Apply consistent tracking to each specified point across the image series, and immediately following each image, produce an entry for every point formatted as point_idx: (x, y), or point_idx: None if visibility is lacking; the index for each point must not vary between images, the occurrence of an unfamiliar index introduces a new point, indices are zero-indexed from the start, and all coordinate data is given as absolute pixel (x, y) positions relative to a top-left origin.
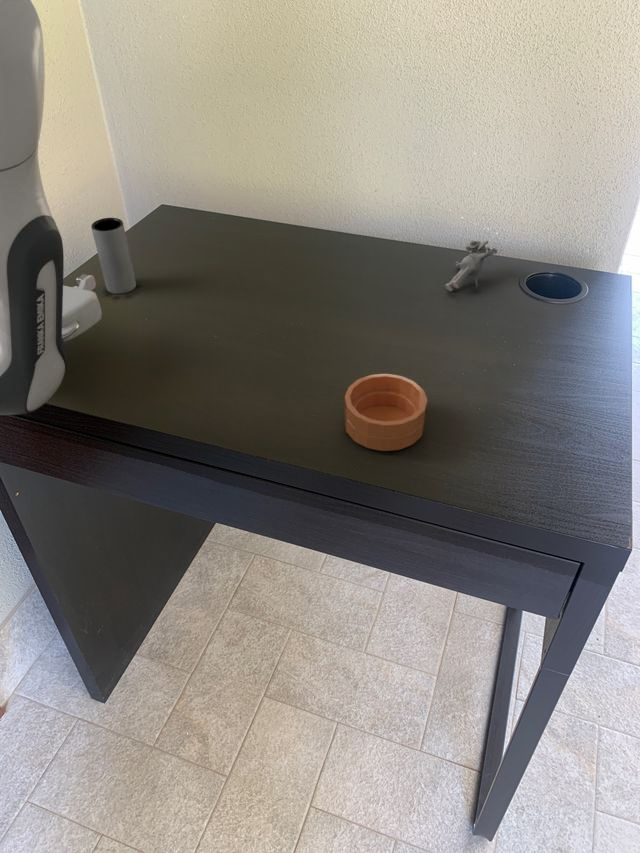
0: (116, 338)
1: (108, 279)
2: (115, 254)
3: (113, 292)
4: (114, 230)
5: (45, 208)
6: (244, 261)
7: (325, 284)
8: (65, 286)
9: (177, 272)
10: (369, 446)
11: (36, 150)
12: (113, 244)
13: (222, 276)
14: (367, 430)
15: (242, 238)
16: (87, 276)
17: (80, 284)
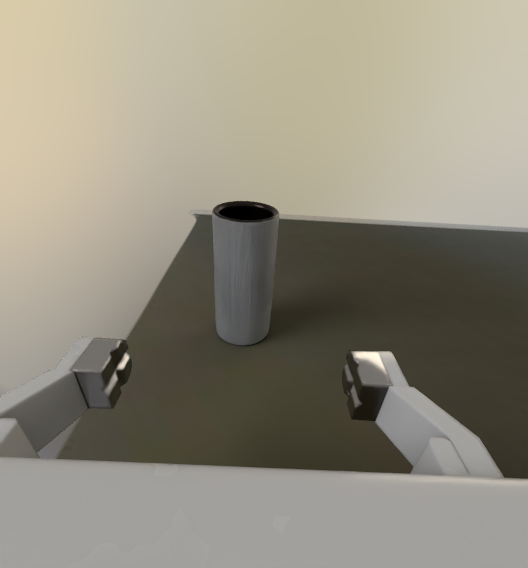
0: None
1: (238, 322)
2: (265, 271)
3: (242, 343)
4: (274, 220)
5: None
6: (363, 263)
7: (493, 279)
8: (472, 490)
9: (302, 288)
10: None
11: None
12: (268, 250)
13: (367, 286)
14: None
15: (322, 238)
16: (385, 360)
17: (434, 419)
